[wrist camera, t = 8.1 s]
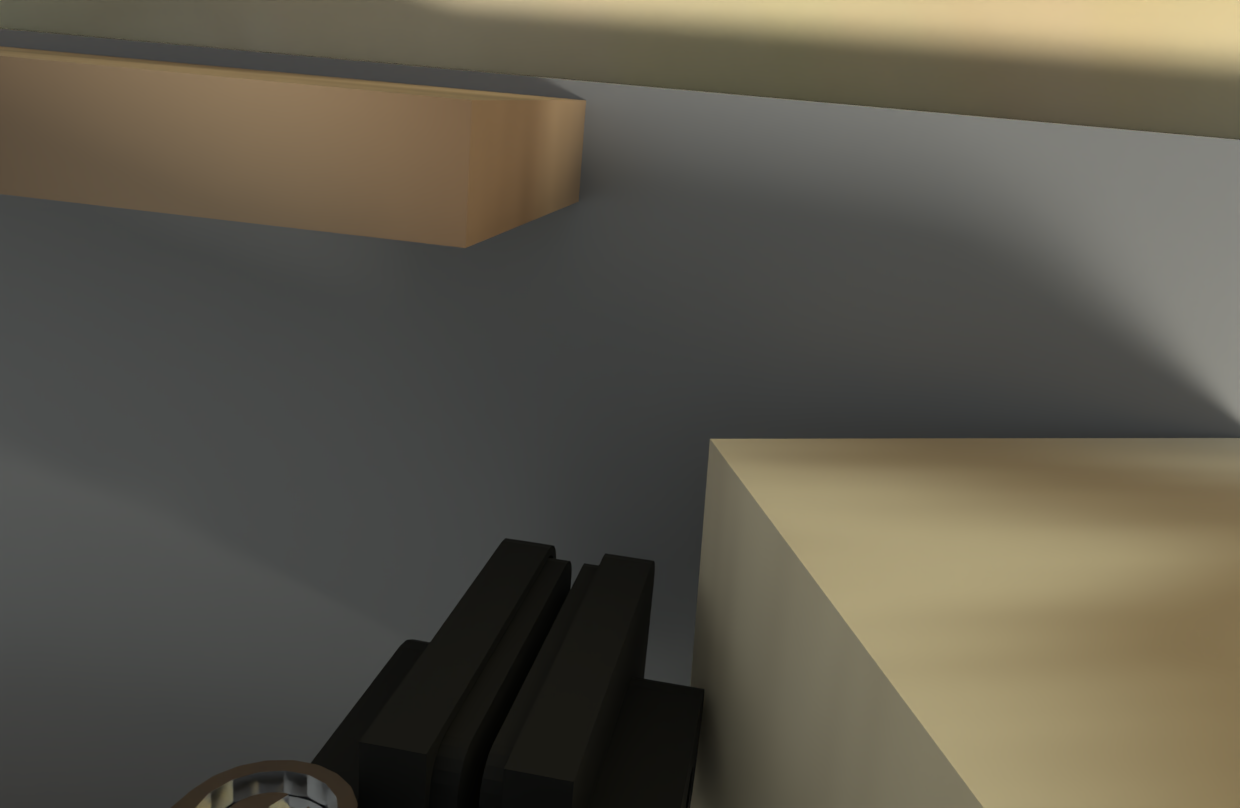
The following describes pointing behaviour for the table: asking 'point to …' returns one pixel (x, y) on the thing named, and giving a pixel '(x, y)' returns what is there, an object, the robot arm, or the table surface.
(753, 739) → the maple block
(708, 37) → the table surface
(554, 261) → the deck
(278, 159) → the tunnel walls
